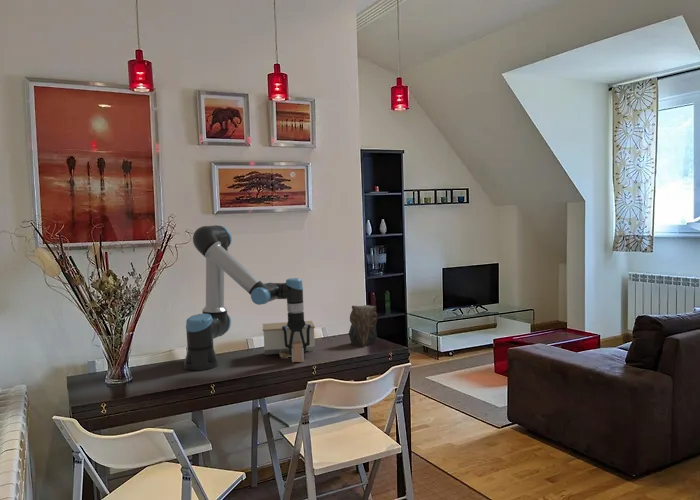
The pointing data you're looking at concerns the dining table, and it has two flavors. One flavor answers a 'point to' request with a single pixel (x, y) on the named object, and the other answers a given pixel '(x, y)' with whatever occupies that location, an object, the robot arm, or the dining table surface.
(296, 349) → the mallet
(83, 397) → the dining table surface
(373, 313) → the owl
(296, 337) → the cabinet
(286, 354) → the tile
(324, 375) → the dining table surface
